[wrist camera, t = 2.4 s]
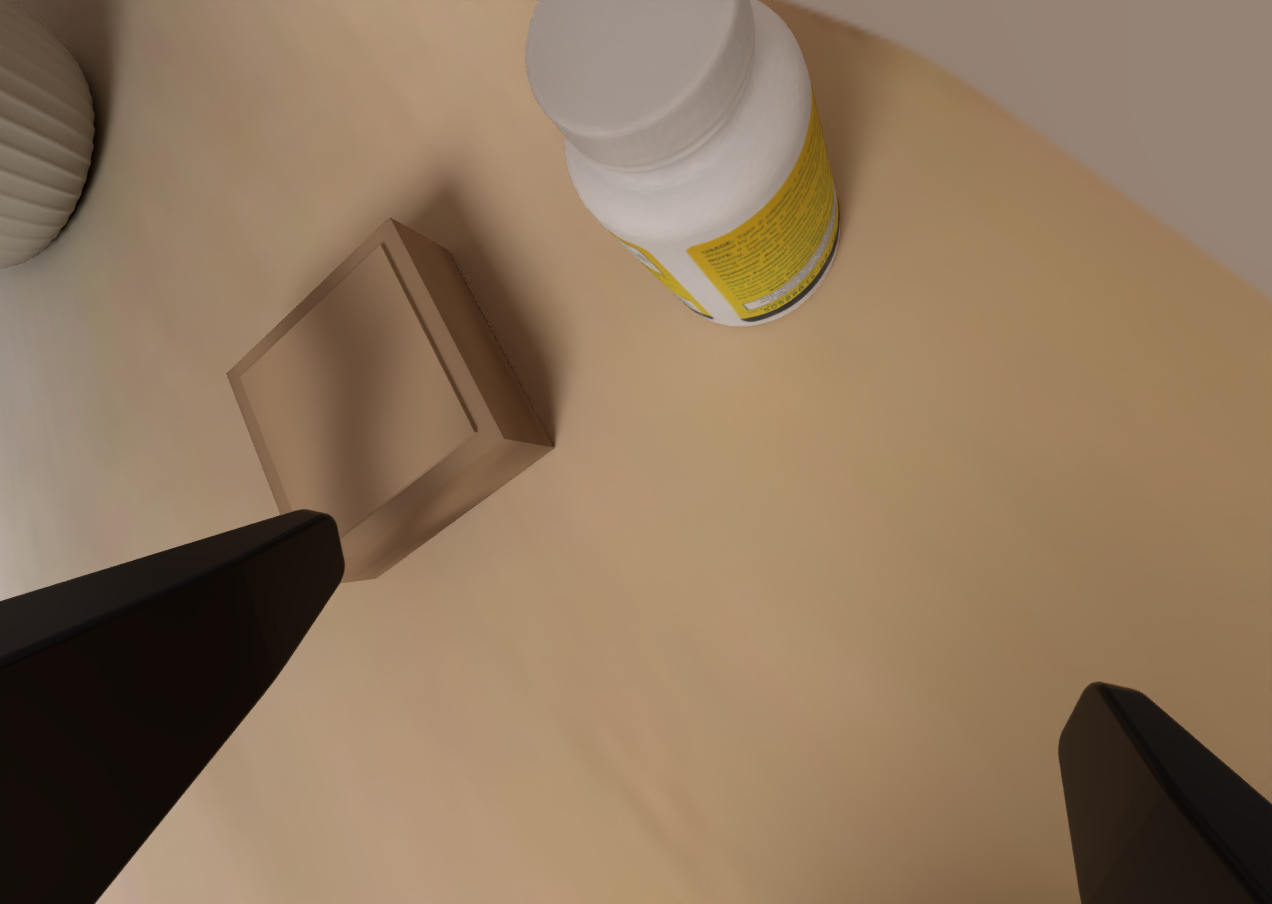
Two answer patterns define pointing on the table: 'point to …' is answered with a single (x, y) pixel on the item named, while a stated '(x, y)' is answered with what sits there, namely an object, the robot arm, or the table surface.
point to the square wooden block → (386, 402)
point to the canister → (39, 135)
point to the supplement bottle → (694, 145)
